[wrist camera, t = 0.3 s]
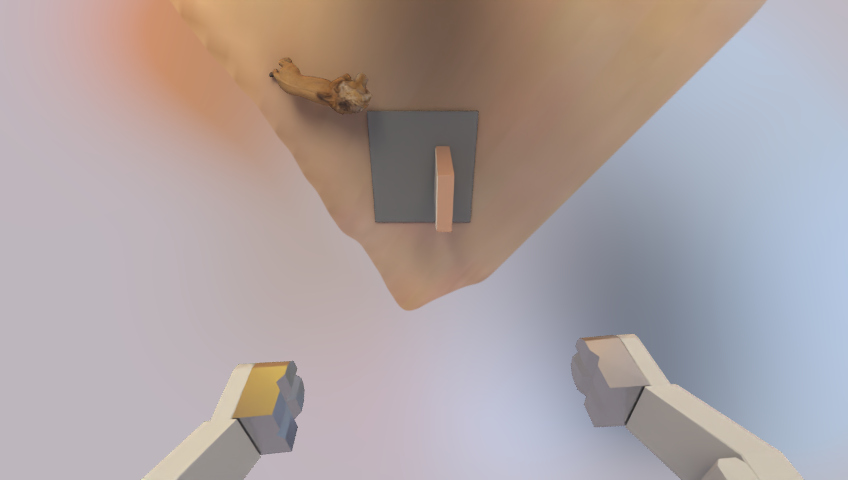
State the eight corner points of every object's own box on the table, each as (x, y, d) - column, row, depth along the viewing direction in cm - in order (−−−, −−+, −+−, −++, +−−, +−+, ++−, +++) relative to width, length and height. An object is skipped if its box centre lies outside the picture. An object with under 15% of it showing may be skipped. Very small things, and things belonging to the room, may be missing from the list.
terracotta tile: (434, 146, 54) (436, 175, 44) (449, 146, 54) (454, 175, 44) (434, 195, 58) (435, 231, 48) (447, 195, 58) (451, 231, 48)
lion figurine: (378, 68, 49) (369, 76, 42) (376, 108, 52) (367, 123, 44) (269, 54, 49) (239, 60, 41) (273, 96, 51) (246, 109, 44)
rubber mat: (367, 110, 52) (366, 111, 52) (478, 110, 52) (478, 111, 52) (375, 220, 62) (375, 221, 61) (469, 220, 61) (470, 222, 61)
